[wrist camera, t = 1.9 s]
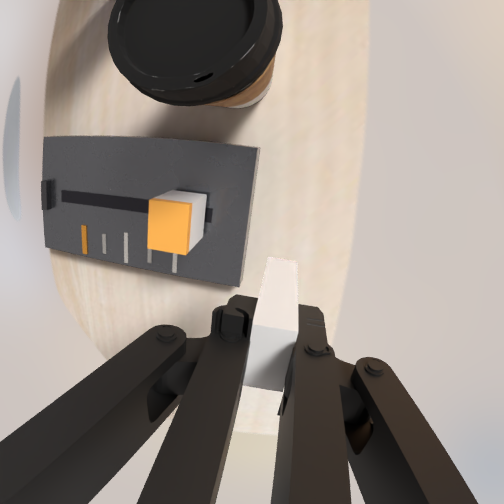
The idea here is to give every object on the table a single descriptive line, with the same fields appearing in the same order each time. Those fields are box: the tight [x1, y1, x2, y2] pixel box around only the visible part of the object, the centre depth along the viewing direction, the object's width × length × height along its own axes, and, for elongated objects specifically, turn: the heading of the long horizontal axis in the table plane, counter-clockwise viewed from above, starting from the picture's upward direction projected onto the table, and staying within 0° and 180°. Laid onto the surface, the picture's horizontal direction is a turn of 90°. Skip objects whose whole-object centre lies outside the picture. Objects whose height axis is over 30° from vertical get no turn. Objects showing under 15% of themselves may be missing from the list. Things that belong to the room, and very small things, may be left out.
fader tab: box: [147, 190, 207, 255], centre depth 24 cm, size 4×3×4 cm
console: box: [41, 136, 260, 287], centre depth 27 cm, size 12×22×3 cm, turn 82°
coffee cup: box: [108, 0, 283, 108], centre depth 17 cm, size 8×8×15 cm
